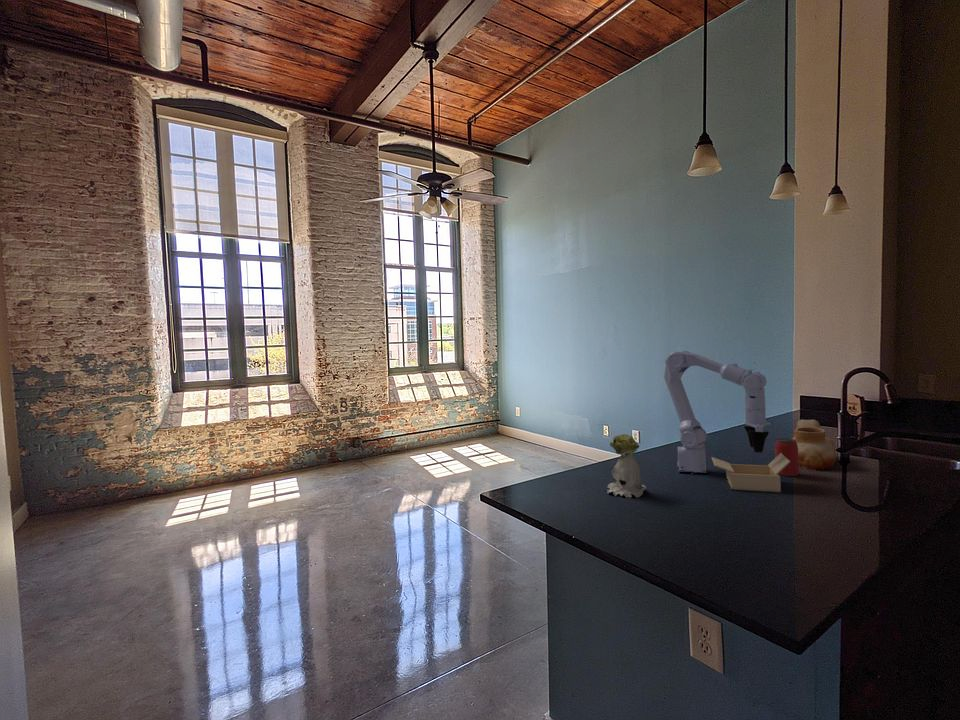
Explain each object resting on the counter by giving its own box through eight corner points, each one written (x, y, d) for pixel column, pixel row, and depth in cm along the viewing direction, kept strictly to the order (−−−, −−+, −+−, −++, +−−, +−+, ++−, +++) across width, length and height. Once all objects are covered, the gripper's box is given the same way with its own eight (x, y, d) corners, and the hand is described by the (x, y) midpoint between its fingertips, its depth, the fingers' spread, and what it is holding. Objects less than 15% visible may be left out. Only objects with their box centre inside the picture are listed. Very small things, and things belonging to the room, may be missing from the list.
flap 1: (734, 471, 145) (733, 472, 145) (729, 463, 156) (729, 464, 156) (715, 464, 147) (714, 466, 147) (711, 456, 158) (711, 457, 158)
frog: (644, 486, 152) (642, 431, 152) (646, 499, 140) (644, 438, 139) (607, 485, 156) (605, 431, 155) (606, 497, 143) (604, 438, 143)
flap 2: (789, 460, 139) (790, 461, 139) (780, 452, 150) (781, 453, 150) (775, 473, 141) (776, 474, 141) (767, 464, 151) (768, 465, 151)
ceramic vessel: (831, 456, 180) (829, 418, 179) (840, 472, 157) (838, 429, 157) (788, 453, 187) (787, 416, 187) (791, 468, 165) (789, 427, 165)
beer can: (803, 476, 155) (802, 441, 155) (783, 477, 155) (782, 441, 155) (790, 471, 161) (789, 437, 161) (771, 472, 162) (770, 438, 161)
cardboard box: (731, 489, 145) (731, 473, 145) (726, 478, 157) (726, 463, 157) (780, 492, 140) (780, 476, 140) (771, 480, 152) (771, 465, 152)
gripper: (773, 412, 144) (775, 455, 145) (765, 406, 158) (766, 445, 158) (748, 411, 147) (749, 454, 147) (741, 406, 160) (742, 444, 161)
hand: (756, 449), depth 153 cm, fingers open, 7 cm apart
